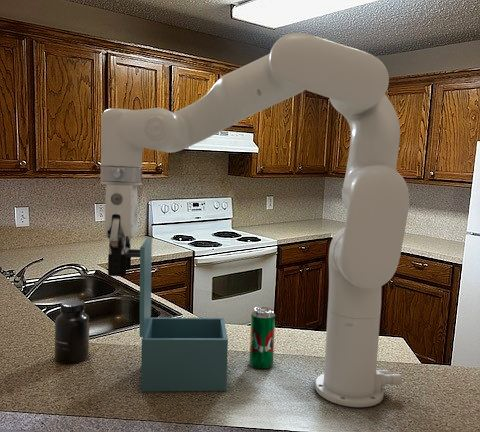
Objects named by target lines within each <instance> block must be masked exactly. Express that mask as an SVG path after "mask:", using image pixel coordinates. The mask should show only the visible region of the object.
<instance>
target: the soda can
mask: <svg viewBox="0 0 480 432" xmlns="http://www.w3.org/2000/svg"><path fill="white" fill-rule="evenodd" d="M252 309H253V310H252V312H251V314H250V335H249V364H250V365H251V367H253V368H255V369H258V370H266V369H269V368H271V367H272V366H273V365H274V355H275V354H274V353H275V333H276V332H275V331H276V314H275V310H274V309H273V308H271V307H267V306H258V307H254V308H252Z"/></svg>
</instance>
